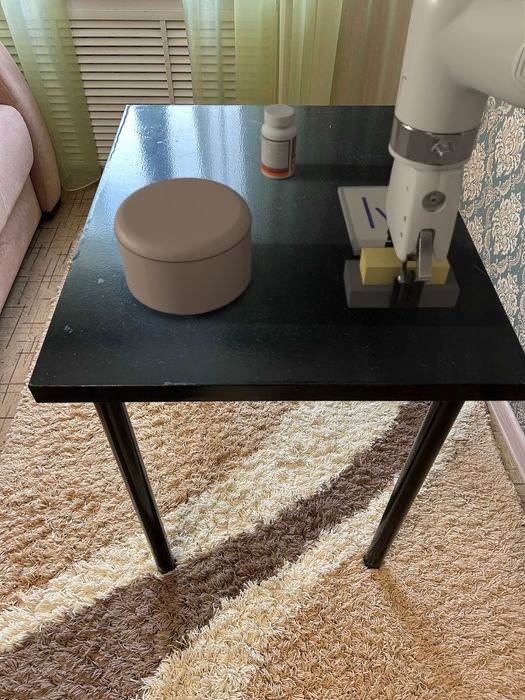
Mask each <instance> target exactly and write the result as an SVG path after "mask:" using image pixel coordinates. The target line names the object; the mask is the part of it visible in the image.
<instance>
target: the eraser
mask: <svg viewBox="0 0 525 700" xmlns="http://www.w3.org/2000/svg"><path fill="white" fill-rule="evenodd" d="M412 252H416V249H414V250H413V251H412ZM399 261H400V259H399V258H398V257H397V254H396V251H395V248H362V253H361V255H360V259H354V260H353V259H346V260H345V262H344V268H343V269H344V270H343V282H344V289H345V296H346V302H347V303H346V304H347V307H348V308H351V309H353V308H357V309H358V308H359V309H361V308H391V307H390V306H389V299H390V295H391V290H392V285H393V281H394V277H398V270H399ZM415 268H416V261H407V268H406V271H409V270H414V269H415ZM460 292H461V289H460V287H459V284H458V282H457V278H456V276H455V272H454V270H453V267H452V264H451V261H450V259H448V258H447V257H446V258H445V260H444V261H442V262H440V261H435V258H434V255H433V252H432V276H431V281H427V282H426V283H425V284H424V287H423V290H422V294H421V298H420V301H419V305H418V307H417V308H455V307H456V304H457V301H458V299H459V298H458V297H459V295H460Z"/></svg>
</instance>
